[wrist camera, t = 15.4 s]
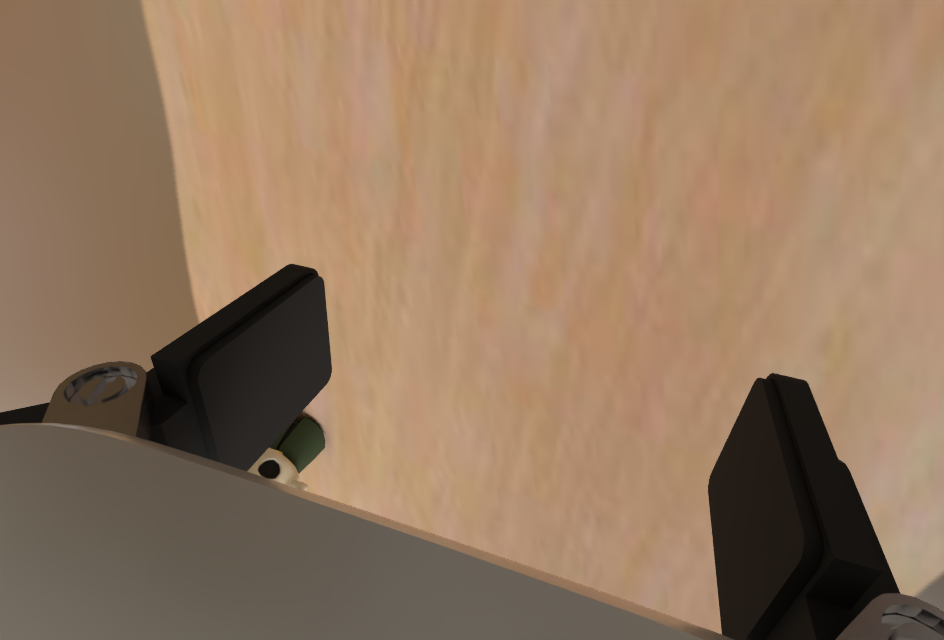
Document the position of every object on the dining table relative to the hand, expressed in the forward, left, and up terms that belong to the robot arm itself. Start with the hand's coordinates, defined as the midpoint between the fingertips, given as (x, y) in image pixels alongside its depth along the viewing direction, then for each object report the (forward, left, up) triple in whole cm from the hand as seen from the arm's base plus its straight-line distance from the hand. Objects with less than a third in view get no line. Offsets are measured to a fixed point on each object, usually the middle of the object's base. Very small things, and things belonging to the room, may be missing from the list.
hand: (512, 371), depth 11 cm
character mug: (+32, +43, -34) cm, 63 cm away
